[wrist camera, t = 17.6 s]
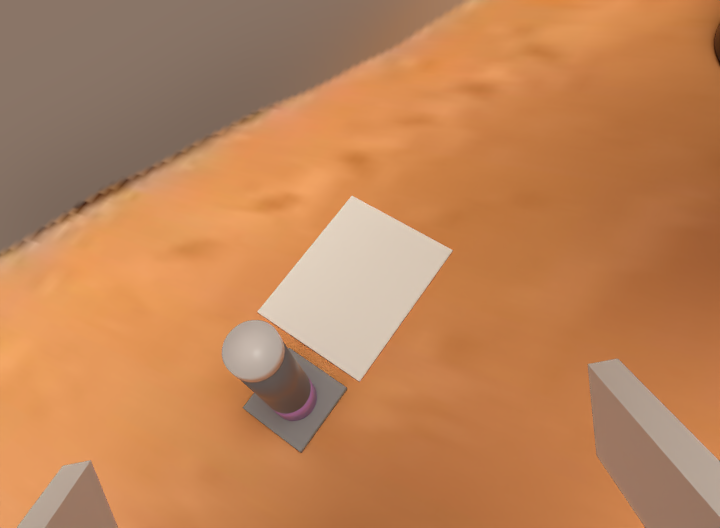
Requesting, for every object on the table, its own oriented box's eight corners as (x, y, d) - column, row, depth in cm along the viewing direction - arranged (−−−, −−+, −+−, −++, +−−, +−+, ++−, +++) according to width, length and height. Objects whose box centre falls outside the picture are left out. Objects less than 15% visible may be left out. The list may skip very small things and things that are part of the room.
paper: (352, 196, 55) (351, 195, 54) (452, 251, 51) (452, 250, 50) (257, 312, 50) (257, 312, 50) (359, 382, 46) (359, 381, 46)
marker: (291, 366, 47) (248, 309, 37) (326, 391, 46) (292, 339, 35) (262, 404, 46) (209, 356, 36) (298, 430, 45) (254, 389, 34)
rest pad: (290, 349, 48) (289, 347, 48) (347, 388, 46) (346, 387, 46) (244, 408, 47) (242, 407, 46) (301, 453, 44) (300, 452, 44)
